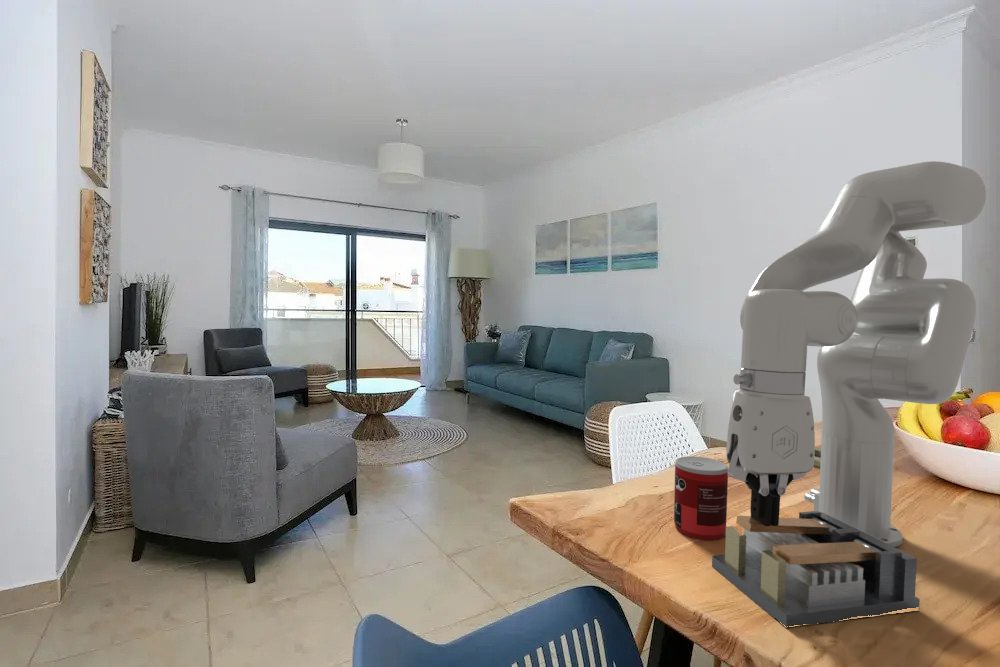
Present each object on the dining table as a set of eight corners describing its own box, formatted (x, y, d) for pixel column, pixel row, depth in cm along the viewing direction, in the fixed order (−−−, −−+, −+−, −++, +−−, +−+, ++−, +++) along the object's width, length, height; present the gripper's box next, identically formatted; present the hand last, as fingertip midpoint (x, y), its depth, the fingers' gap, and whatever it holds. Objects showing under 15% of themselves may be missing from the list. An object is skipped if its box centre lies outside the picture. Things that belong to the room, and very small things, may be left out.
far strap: (733, 522, 70) (734, 513, 70) (816, 525, 72) (817, 517, 72) (752, 534, 66) (753, 525, 66) (838, 537, 69) (840, 528, 69)
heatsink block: (711, 566, 71) (713, 516, 71) (823, 555, 75) (825, 508, 74) (786, 628, 58) (788, 567, 57) (919, 611, 61) (921, 553, 61)
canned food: (683, 516, 89) (684, 453, 88) (732, 529, 83) (734, 462, 83) (666, 531, 83) (667, 463, 82) (717, 545, 78) (719, 474, 77)
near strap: (769, 552, 63) (770, 542, 63) (860, 548, 65) (860, 538, 65) (792, 567, 59) (793, 557, 59) (887, 562, 62) (888, 552, 62)
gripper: (739, 387, 62) (731, 536, 63) (844, 388, 65) (836, 531, 66) (703, 379, 70) (696, 513, 70) (799, 381, 73) (792, 509, 73)
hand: (764, 521), depth 68 cm, fingers closed
